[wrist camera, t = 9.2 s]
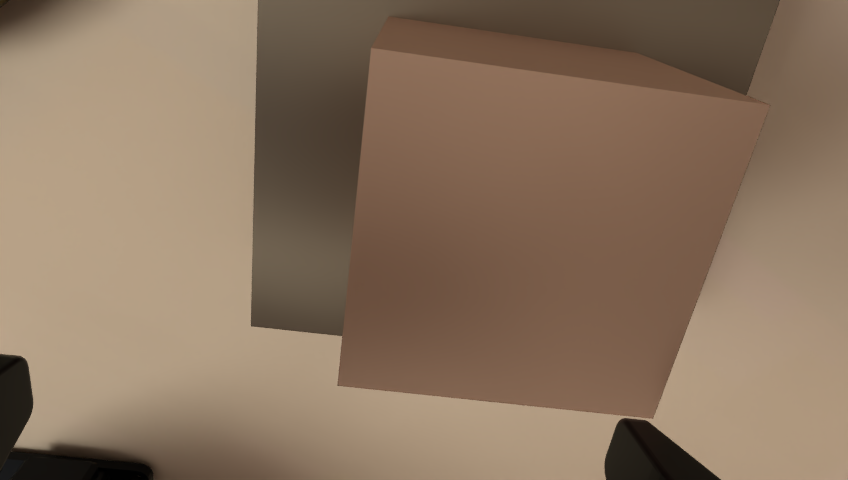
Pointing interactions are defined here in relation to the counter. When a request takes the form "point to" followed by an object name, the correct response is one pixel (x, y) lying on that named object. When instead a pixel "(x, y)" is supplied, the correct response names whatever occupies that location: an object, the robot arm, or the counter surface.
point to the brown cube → (534, 218)
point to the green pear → (3, 2)
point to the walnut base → (346, 98)
